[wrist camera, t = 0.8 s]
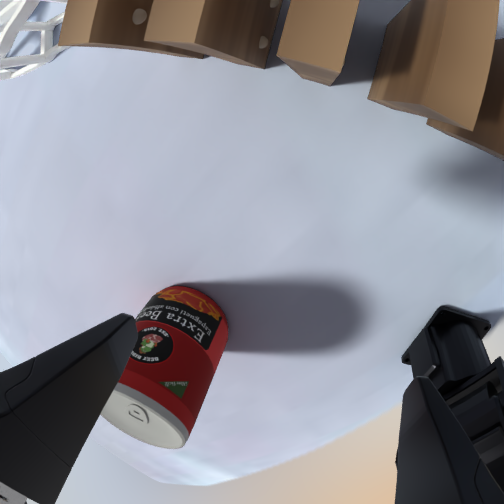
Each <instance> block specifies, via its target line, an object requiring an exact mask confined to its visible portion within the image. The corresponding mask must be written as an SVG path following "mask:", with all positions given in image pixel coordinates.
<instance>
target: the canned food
mask: <svg viewBox="0 0 504 504" xmlns="http://www.w3.org/2000/svg"><path fill="white" fill-rule="evenodd" d="M135 323H136V327H137V331H138V339H137V342H136V344H135V346H134V348H133V351H132V353H131V355H130V357H129V360H128V362H127V364H126V367H125V369H124V371H123V374H122V376H121V378H120V380H119V381H118V383H117V385H116V387H115V389H114V390H113V392H112V394H111V396H110V397H109V399H108V401H107V403H106V405H105V406H104V408H103V410H102V412H101V415H102V416H103V417H104V418H105V419H106V420H107V421H108V422H110V423H111V424H112V425H114V426H115V427H116V428H118V429H119V430H121V431H123V432H124V433H126V434H128V435H130V436H131V437H133V438H135V439H138V440H140V441H142V442H145V443H147V444H150V445H153V446H156V447H161V448H167V449H178V448H182V447H183V446H184V445H185V443H186V441H187V440H188V438H189V435H190V433H191V431H192V429H193V427H194V424H195V422H196V419H197V417H198V414H199V412H200V409H201V407H202V404H203V402H204V399H205V396H206V394H207V391H208V389H209V386H210V384H211V381H212V379H213V376H214V374H215V371H216V369H217V366H218V364H219V361H220V359H221V356H222V353H223V351H224V348H225V346H226V343H227V340H228V323H227V319H226V317H225V315H224V313H223V311H222V310H221V308H220V307H219V306H218V305H217V304H216V303H215V302H214V301H213V300H212V299H211V298H209V297H208V296H207V295H205V294H203V293H201V292H200V291H197V290H195V289H192V288H188V287H184V286H173V287H168V288H165V289H163V290H161V291H159V292H158V293H156V294H155V295H154V296H152V298H151V299H150V300H149V302H148V303H147V304H146V305H145V307H144V308H143V309H142V311H141V312H140V313H139V315H138V316H137V317H136V319H135Z"/></svg>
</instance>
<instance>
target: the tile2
mask: <svg viewBox="0 0 504 504" xmlns="http://www.w3.org/2000/svg"><path fill="white" fill-rule="evenodd" d="M498 12H499V0H411V1H410V2H409V3H408V4H407V5H406V6H405V7H404V8H403V9H402V10H401V11H400V12H399V13H398V14H397V15H396V16H395V17H394V18H393V19H392V20H391V21H390V22H389V23H388V24H387V28H386V32H385V36H384V40H383V44H382V48H381V52H380V56H379V59H378V63H377V67H376V70H375V74H374V78H373V81H372V85H371V88H370V92H369V95H368V98H367V99H369V100H371V101H374V102H376V103H379V104H382V105H384V106H386V107H389V108H391V109H394V110H399V111H403V112H407V113H412V114H416V115H419V116H423V117H427V118H431V119H434V120H438V121H441V122H445V123H448V124H451V125H454V126H458V127H461V128H464V129H467V130H470V131H473V129H474V126H475V123H476V120H477V116H478V113H479V109H480V106H481V102H482V98H483V95H484V91H485V87H486V83H487V78H488V74H489V69H490V64H491V59H492V54H493V48H494V42H495V36H496V29H497V21H498Z"/></svg>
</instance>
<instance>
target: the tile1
mask: <svg viewBox="0 0 504 504" xmlns="http://www.w3.org/2000/svg"><path fill="white" fill-rule="evenodd" d="M426 124H427V125H429V126H431V127H433V128H435V129H437V130H439V131H441V132H443V133H445V134H447V135H449V136H451V137H454V138H456V139H459V140H461V141H463V142H466V143H468V144H470V145H472V146H475V147H477V148H479V149H481V150H483V151H485V152H487V153H489V154H492V155H494V156H496V157H498V158H500V159H501V160H503V161H504V38H503V39H498V40H495V42H494V48H493V54H492V59H491V64H490V69H489V74H488V78H487V83H486V87H485V91H484V95H483V98H482V102H481V106H480V109H479V113H478V116H477V120H476V123H475V126H474V129H473V131H470V130H467V129H464V128H461V127H458V126H454V125H451V124H448V123H445V122H441V121H438V120H434V119H431V118H428V120H427V123H426Z"/></svg>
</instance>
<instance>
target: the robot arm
mask: <svg viewBox="0 0 504 504" xmlns="http://www.w3.org/2000/svg"><path fill="white" fill-rule="evenodd" d="M442 312H443V313H442ZM440 313H442V314H440ZM490 328H491V324H490V322H489V321H487V320H484V319H481V318H478V317H475V316H472V315H469V314H466V313H463V312H459V311H456V310H453V309H450V308H447V307H444V306H442V307H439V308H438V309H437V310H436V311H435V313H434V314H433V316H432V317H431V319H430V320H429V321H428V323H427V324H426V325H425V327H424V328H423V329H422V331H421V332H420V333H419V335H418V336H417V337H416V339H415V340H414V341H413V343H412V344H411V345H410V346H409V348H408V349H407V350H406V352H405V353H404V354H403V355H402V357H401V359H402V363H404V364H408V365H411V366H412V372H413V378H414V379H413V381H412V382H411V383H410V385H409V386H408V388H407V389H406V390H405V392H404V395H403V403H402V414H401V423H400V432H399V444H398V449H397V455H396V461H395V463H396V466H397V484H396V496H395V504H504V361H503V359H502V358H501V357H498V358H497V359H495V361H494V362H493V363H492V364H491V362H490V360H489V357H488V354H487V352H486V349H485V347H484V344H483V342H482V339H483V337H484V336H485V335H486V334H487V332H488V331H489V330H490ZM137 339H138V331H137V327H136V323H135V319H134V317H133V316H131V315H128V314H125V313H121V314H119V315H117V316H115V317H113V318H111V319H109V320H107V321H105V322H103V323H101V324H99V325H97V326H95V327H93V328H91V329H89V330H87V331H85V332H83V333H81V334H79V335H77V336H75V337H73V338H71V339H69V340H67V341H65V342H63V343H61V344H59V345H57V346H55V347H53V348H51V349H49V350H47V351H45V352H43V353H41V354H39V355H37V356H36V357H33V358H31V359H29V360H27V361H25V362H23V363H21V364H19V365H17V366H15V367H12V368H10V369H8V370H5V371H3V372H0V504H27V502H26V500H27V498H29V499H31V500H33V501H35V502H37V503H39V504H55V502H56V500H57V498H58V496H59V494H60V492H61V490H62V488H63V485H64V483H65V481H66V479H67V477H68V475H69V473H70V471H71V469H72V467H73V465H74V463H75V461H76V459H77V457H78V455H79V453H80V451H81V449H82V447H83V445H84V443H85V442H86V440H87V438H88V436H89V434H90V432H91V430H92V428H93V427H94V425H95V423H96V421H97V419H98V417H99V415H100V414H101V412H102V410H103V408H104V406H105V405H106V403H107V401H108V399H109V397H110V396H111V394H112V392H113V390H114V389H115V387H116V385H117V383H118V381H119V380H120V378H121V376H122V374H123V371H124V369H125V367H126V364H127V362H128V360H129V357H130V355H131V353H132V351H133V348H134V346H135V344H136V342H137Z"/></svg>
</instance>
